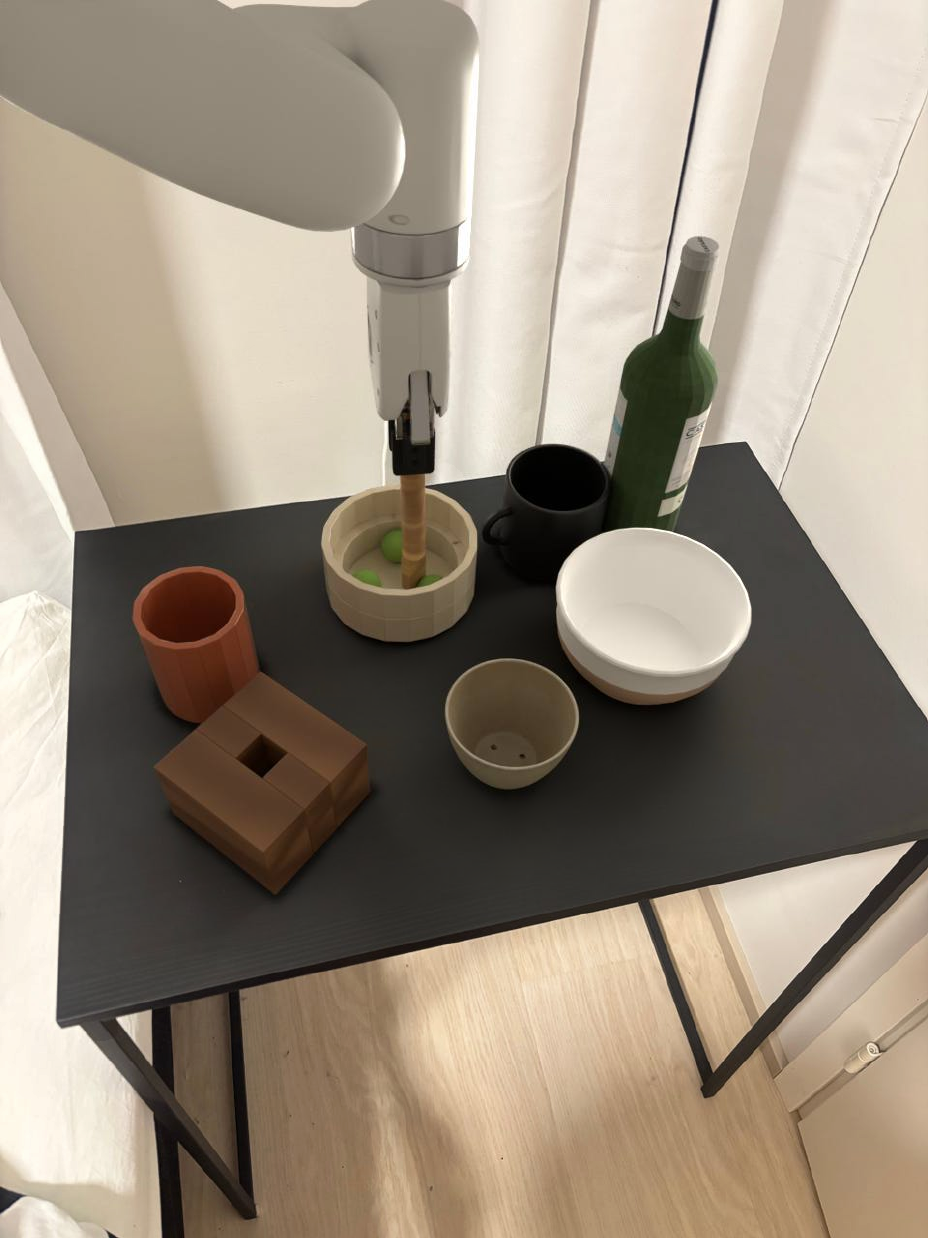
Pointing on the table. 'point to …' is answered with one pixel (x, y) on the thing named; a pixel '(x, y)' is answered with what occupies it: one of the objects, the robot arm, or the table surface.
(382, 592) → the mixing bowl
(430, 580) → the pea
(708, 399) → the wine bottle
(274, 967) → the table surface
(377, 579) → the pea
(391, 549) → the pea
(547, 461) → the mug
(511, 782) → the flower pot
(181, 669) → the crock
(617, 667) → the bowl
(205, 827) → the holder
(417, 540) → the wooden dowel peg
